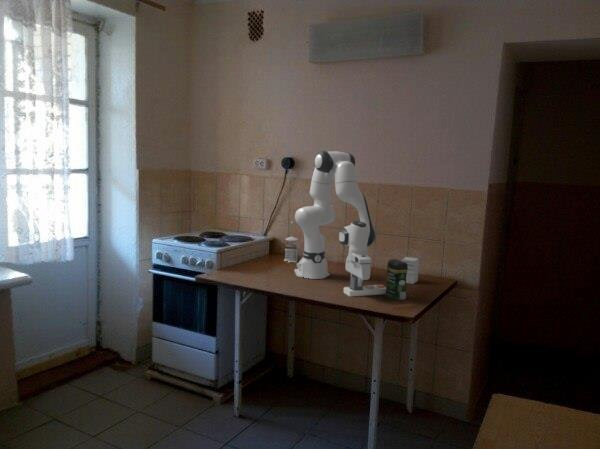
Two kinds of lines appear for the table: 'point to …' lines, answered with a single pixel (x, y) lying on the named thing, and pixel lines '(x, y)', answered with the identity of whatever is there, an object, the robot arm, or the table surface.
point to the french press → (291, 250)
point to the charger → (355, 283)
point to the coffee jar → (396, 279)
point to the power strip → (366, 290)
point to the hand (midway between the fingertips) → (356, 284)
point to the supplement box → (411, 269)
